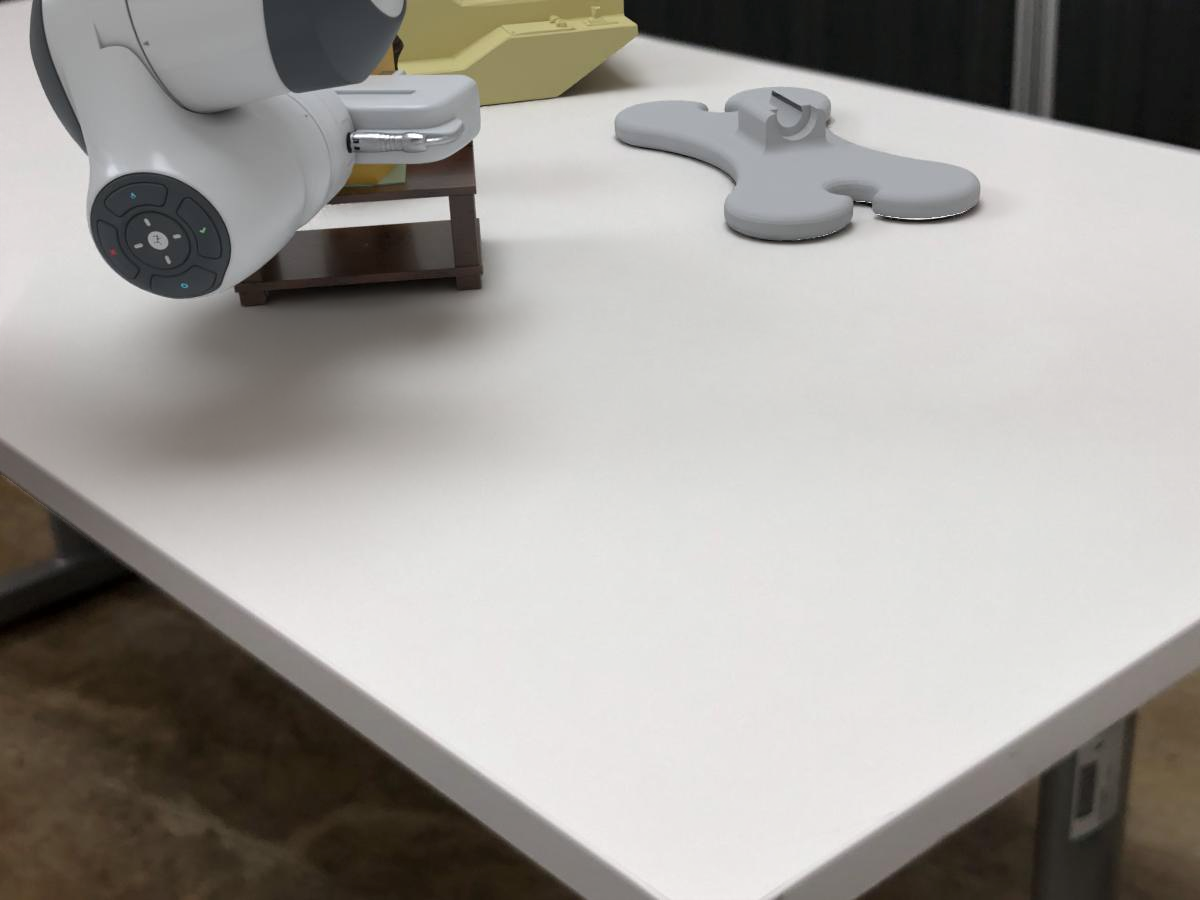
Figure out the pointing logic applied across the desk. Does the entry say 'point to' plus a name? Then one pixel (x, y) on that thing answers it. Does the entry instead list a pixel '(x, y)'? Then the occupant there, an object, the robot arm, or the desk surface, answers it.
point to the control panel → (512, 43)
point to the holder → (795, 163)
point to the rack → (385, 237)
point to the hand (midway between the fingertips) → (348, 82)
